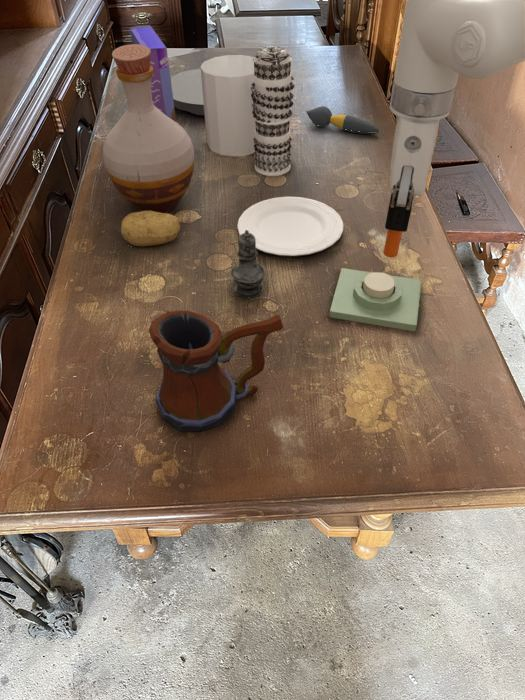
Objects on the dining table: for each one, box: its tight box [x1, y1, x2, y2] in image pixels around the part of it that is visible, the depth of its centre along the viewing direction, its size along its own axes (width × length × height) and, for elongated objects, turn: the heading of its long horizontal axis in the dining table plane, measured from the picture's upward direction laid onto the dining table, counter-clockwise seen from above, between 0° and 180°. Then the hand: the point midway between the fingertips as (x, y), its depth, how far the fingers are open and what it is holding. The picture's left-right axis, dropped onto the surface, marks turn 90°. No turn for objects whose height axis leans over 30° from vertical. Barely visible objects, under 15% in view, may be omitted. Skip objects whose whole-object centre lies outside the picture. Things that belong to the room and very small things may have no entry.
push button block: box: [328, 267, 422, 333], centre depth 91 cm, size 14×12×3 cm
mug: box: [148, 310, 284, 432], centre depth 72 cm, size 18×12×15 cm, turn 99°
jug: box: [102, 43, 195, 214], centre depth 105 cm, size 20×18×30 cm
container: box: [199, 54, 256, 157], centre depth 129 cm, size 14×14×18 cm
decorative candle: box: [251, 45, 295, 177], centre depth 117 cm, size 9×9×25 cm
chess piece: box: [230, 230, 266, 299], centre depth 91 cm, size 6×6×12 cm
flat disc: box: [170, 67, 205, 116], centre depth 152 cm, size 28×28×4 cm
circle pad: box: [363, 271, 395, 299], centre depth 90 cm, size 5×5×2 cm
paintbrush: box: [305, 105, 380, 135], centre depth 138 cm, size 20×5×5 cm, turn 71°
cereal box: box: [129, 24, 177, 123], centre depth 127 cm, size 17×5×24 cm, turn 20°
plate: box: [236, 196, 344, 258], centre depth 107 cm, size 21×21×2 cm
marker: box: [383, 192, 409, 258], centre depth 81 cm, size 2×2×11 cm
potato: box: [120, 210, 181, 247], centre depth 103 cm, size 7×11×6 cm, turn 94°
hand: (396, 223), depth 81 cm, fingers closed on marker, 2 cm apart
